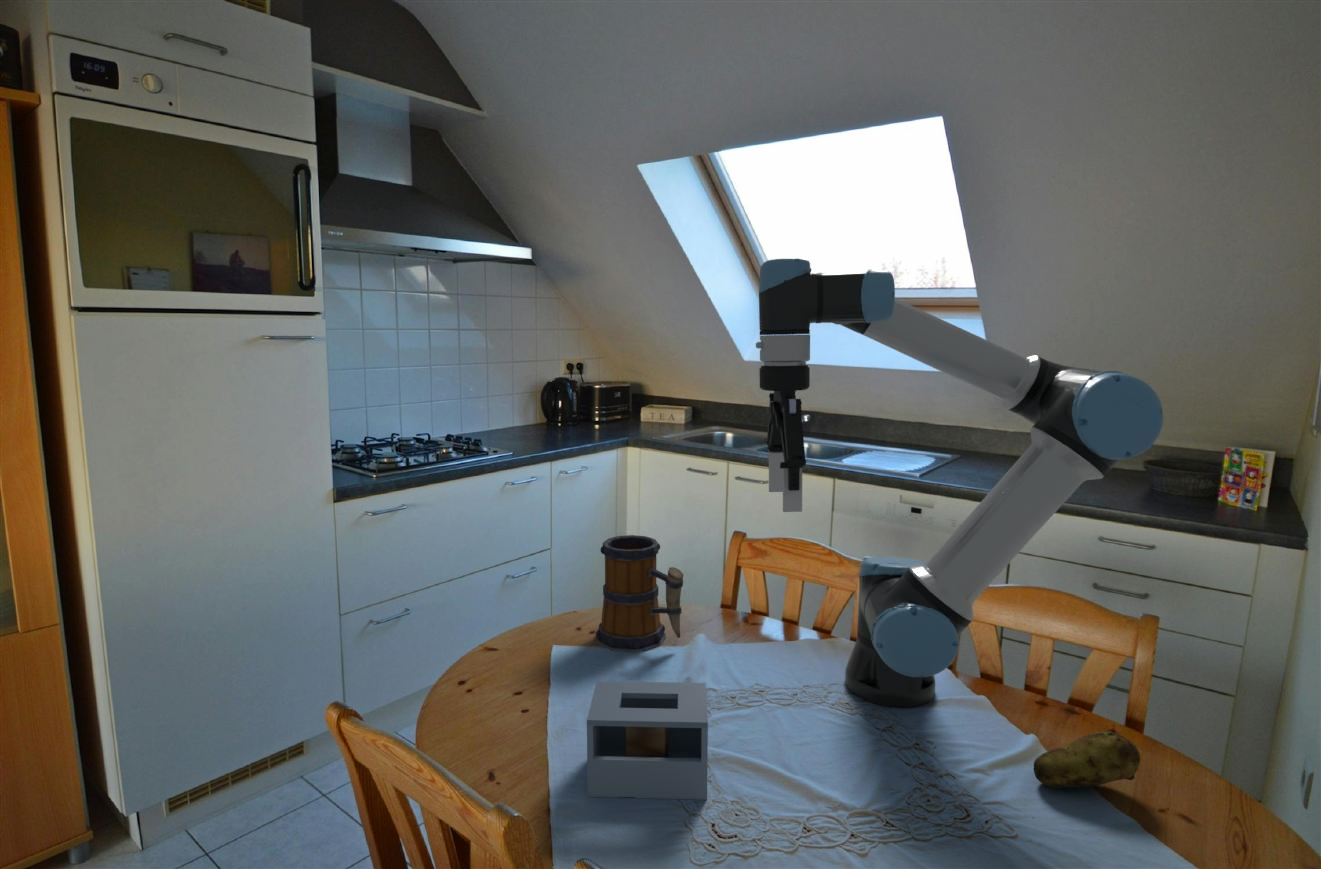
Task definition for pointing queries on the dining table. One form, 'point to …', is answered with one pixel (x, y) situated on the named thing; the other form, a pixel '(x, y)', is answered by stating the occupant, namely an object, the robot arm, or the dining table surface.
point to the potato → (1088, 761)
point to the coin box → (648, 708)
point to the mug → (636, 595)
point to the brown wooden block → (647, 742)
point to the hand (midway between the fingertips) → (784, 501)
